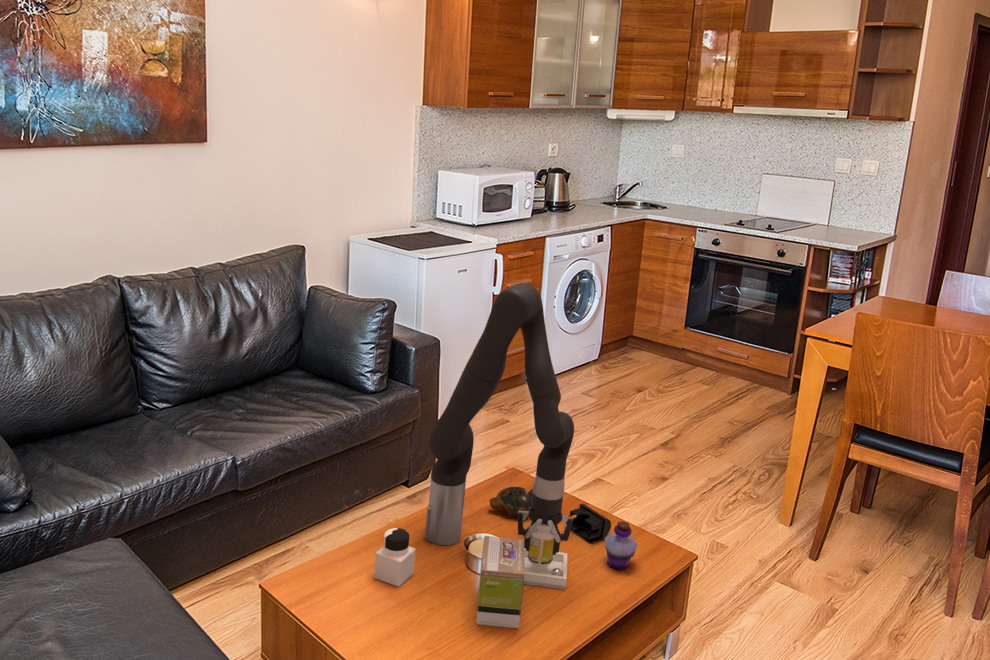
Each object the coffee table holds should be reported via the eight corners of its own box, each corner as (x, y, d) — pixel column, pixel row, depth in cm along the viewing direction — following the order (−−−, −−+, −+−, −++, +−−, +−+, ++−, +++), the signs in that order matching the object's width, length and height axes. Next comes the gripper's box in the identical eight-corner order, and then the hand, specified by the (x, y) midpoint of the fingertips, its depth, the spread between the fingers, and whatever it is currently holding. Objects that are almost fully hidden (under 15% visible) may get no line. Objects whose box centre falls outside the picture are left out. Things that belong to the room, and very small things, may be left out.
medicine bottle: (414, 573, 207) (417, 530, 203) (398, 587, 200) (402, 543, 197) (389, 564, 209) (392, 521, 206) (373, 578, 203) (376, 534, 200)
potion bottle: (640, 569, 218) (647, 528, 215) (615, 576, 214) (621, 535, 210) (619, 552, 225) (625, 512, 222) (594, 559, 221) (600, 519, 217)
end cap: (609, 538, 232) (613, 516, 230) (591, 545, 228) (594, 523, 226) (584, 522, 239) (587, 501, 237) (566, 528, 235) (569, 507, 233)
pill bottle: (552, 555, 214) (557, 517, 211) (551, 569, 208) (556, 529, 205) (528, 552, 214) (532, 513, 211) (526, 565, 208) (531, 526, 205)
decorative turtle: (545, 520, 238) (547, 496, 235) (493, 525, 235) (494, 500, 232) (536, 502, 247) (538, 478, 244) (486, 506, 244) (487, 482, 241)
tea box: (478, 587, 204) (484, 533, 200) (519, 591, 204) (526, 537, 199) (475, 625, 189) (480, 568, 185) (519, 630, 189) (526, 573, 185)
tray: (508, 582, 207) (510, 571, 206) (512, 556, 218) (513, 546, 218) (565, 589, 206) (566, 579, 205) (565, 563, 218) (567, 553, 217)
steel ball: (549, 581, 207) (551, 571, 206) (550, 575, 210) (551, 564, 209) (561, 583, 207) (563, 572, 206) (562, 576, 210) (563, 566, 209)
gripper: (518, 494, 203) (511, 555, 207) (577, 502, 202) (569, 563, 206) (520, 480, 210) (513, 540, 214) (577, 488, 209) (569, 547, 214)
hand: (541, 551), depth 210 cm, fingers closed on pill bottle, 6 cm apart
